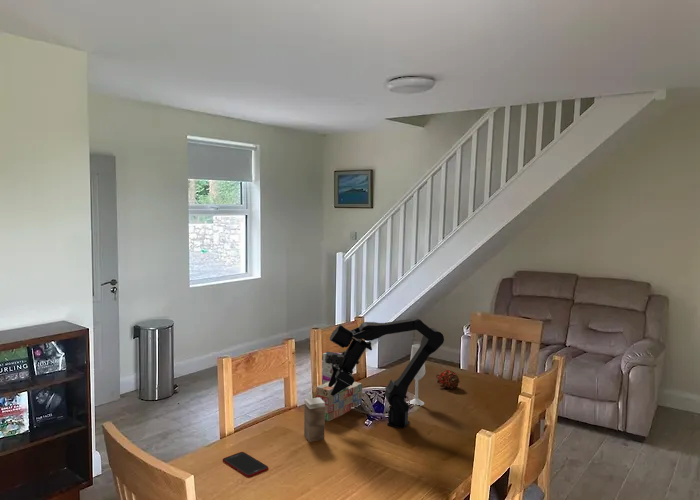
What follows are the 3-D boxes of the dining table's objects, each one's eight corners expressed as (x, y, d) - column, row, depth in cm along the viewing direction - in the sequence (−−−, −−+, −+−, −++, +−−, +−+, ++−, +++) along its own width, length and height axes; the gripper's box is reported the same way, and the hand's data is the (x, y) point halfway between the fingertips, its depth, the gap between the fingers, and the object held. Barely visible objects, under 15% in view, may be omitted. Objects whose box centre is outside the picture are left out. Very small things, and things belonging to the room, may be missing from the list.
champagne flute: (423, 406, 216) (425, 348, 214) (407, 405, 217) (408, 347, 215) (424, 400, 222) (426, 344, 221) (408, 399, 224) (410, 343, 222)
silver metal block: (318, 433, 188) (319, 397, 187) (324, 439, 183) (324, 402, 182) (304, 435, 186) (304, 399, 185) (309, 441, 181) (309, 404, 180)
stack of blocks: (349, 402, 220) (350, 372, 219) (362, 405, 216) (362, 376, 215) (315, 417, 203) (316, 386, 202) (328, 421, 199) (328, 389, 198)
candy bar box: (349, 391, 233) (350, 354, 231) (343, 394, 228) (344, 357, 227) (327, 386, 238) (327, 350, 236) (321, 390, 233) (321, 353, 232)
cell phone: (242, 453, 172) (242, 451, 172) (269, 470, 162) (269, 467, 162) (221, 461, 167) (221, 458, 167) (248, 479, 156) (248, 476, 156)
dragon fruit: (458, 395, 235) (437, 391, 244) (466, 380, 240) (445, 377, 249) (449, 381, 232) (428, 378, 241) (458, 367, 237) (437, 364, 246)
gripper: (331, 336, 201) (309, 372, 201) (337, 349, 183) (313, 388, 183) (356, 351, 203) (334, 386, 203) (364, 365, 184) (340, 404, 184)
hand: (330, 390), depth 193 cm, fingers open, 9 cm apart
